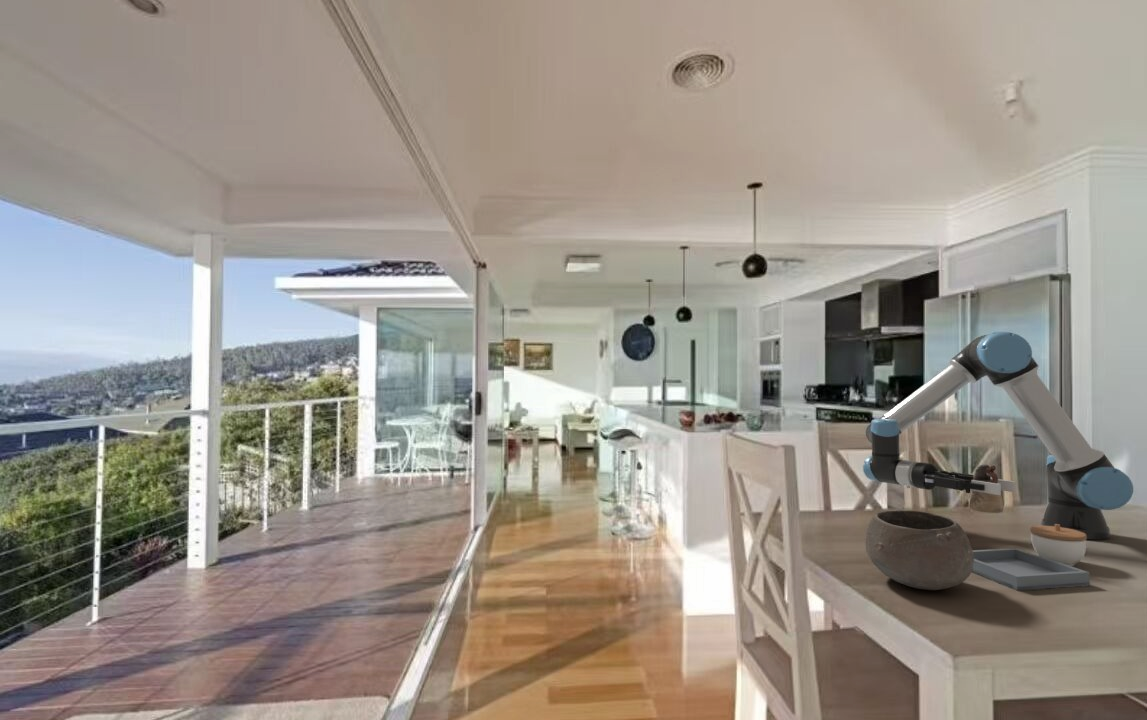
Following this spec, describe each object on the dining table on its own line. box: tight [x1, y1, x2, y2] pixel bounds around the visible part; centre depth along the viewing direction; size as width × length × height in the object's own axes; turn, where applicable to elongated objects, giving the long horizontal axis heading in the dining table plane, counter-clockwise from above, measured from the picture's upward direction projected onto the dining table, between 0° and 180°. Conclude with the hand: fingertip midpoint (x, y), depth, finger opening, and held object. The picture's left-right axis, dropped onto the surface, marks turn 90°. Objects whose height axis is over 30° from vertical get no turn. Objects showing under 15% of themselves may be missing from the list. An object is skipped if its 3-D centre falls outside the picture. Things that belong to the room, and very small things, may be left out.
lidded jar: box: [1029, 524, 1088, 567], centre depth 140 cm, size 11×11×9 cm
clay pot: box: [864, 510, 974, 591], centre depth 126 cm, size 21×21×15 cm
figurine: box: [969, 463, 1005, 514], centre depth 147 cm, size 7×7×12 cm
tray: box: [971, 547, 1091, 592], centre depth 132 cm, size 18×18×3 cm
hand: (1007, 488), depth 143 cm, fingers closed on figurine, 6 cm apart
